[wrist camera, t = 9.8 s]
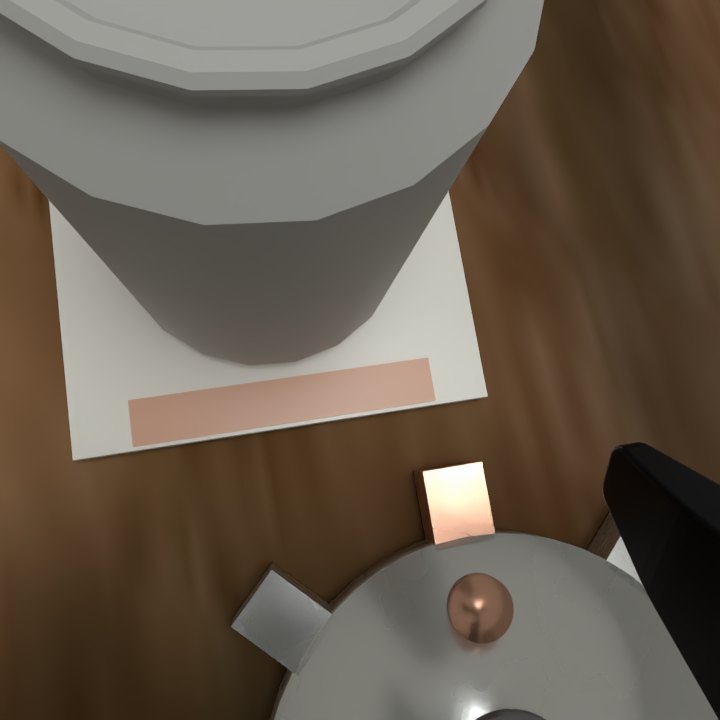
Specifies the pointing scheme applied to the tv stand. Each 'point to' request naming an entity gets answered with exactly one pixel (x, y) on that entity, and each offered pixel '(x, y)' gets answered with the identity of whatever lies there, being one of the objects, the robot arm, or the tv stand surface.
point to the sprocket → (475, 627)
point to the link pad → (257, 382)
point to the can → (254, 147)
